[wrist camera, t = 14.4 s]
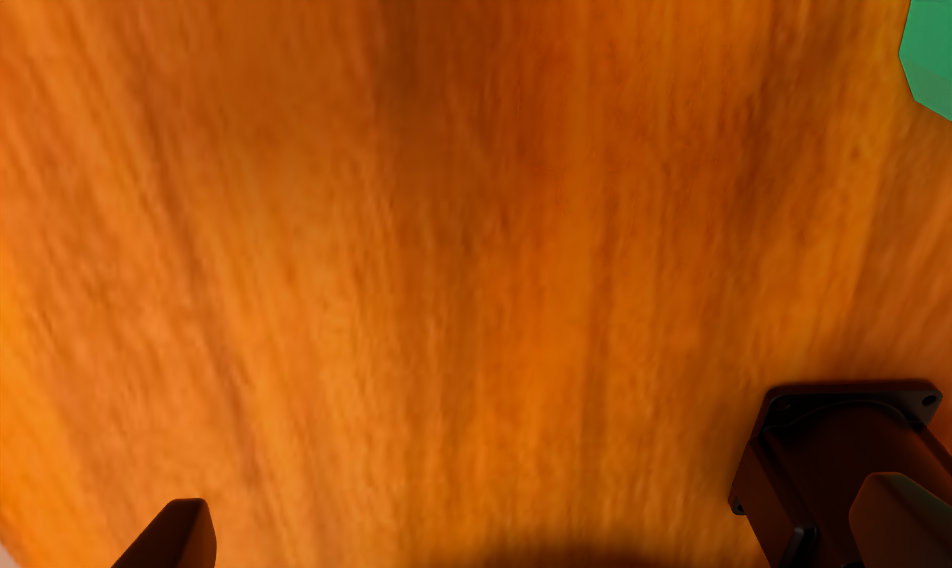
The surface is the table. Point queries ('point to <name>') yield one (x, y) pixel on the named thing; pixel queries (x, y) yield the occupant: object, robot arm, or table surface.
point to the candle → (929, 54)
